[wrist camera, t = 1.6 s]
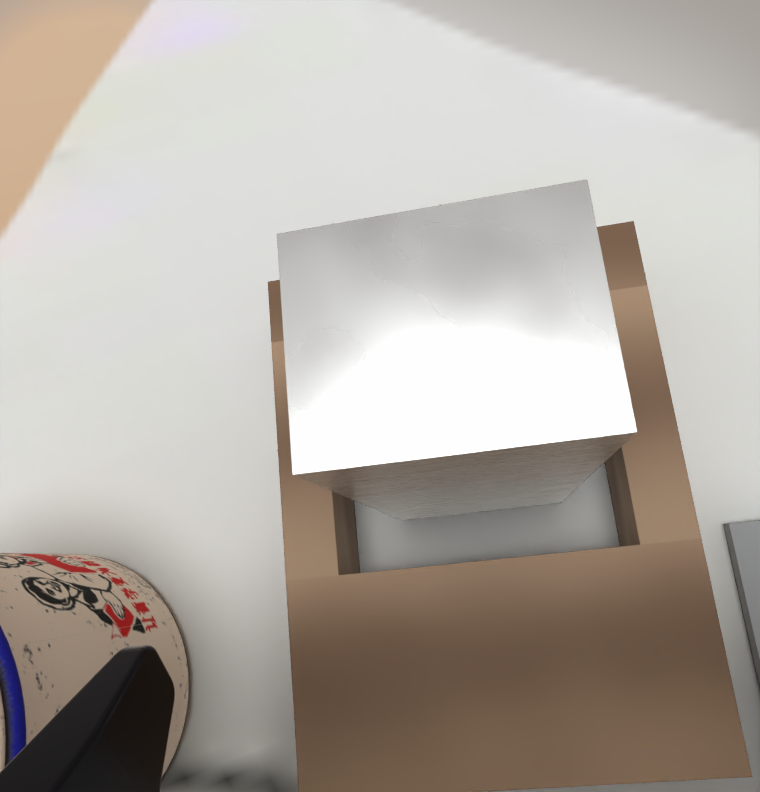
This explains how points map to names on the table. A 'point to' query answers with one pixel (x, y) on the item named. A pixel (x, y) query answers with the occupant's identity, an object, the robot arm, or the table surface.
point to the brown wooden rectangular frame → (516, 626)
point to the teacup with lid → (74, 638)
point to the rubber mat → (747, 577)
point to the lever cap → (454, 354)
